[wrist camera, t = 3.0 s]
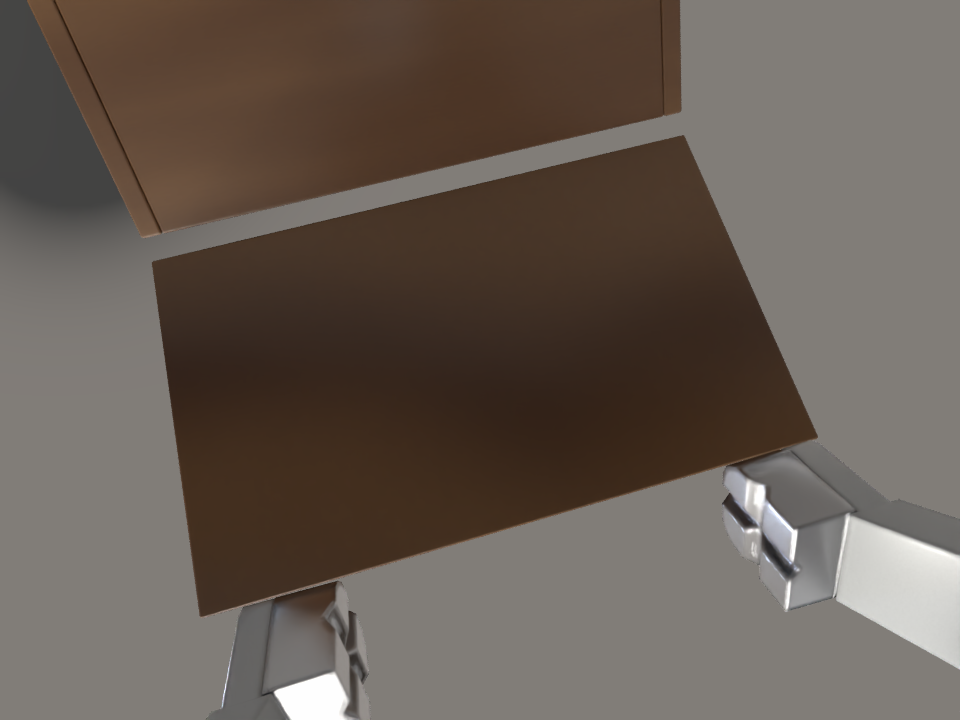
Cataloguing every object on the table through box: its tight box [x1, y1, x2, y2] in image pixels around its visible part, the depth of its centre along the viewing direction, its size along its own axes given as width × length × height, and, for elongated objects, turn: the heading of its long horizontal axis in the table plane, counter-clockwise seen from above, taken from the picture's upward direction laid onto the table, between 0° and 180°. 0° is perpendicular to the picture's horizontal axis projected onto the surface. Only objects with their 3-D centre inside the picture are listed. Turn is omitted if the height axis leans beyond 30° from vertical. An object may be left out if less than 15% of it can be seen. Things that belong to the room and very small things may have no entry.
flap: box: [152, 135, 818, 618], centre depth 14 cm, size 8×14×1 cm
